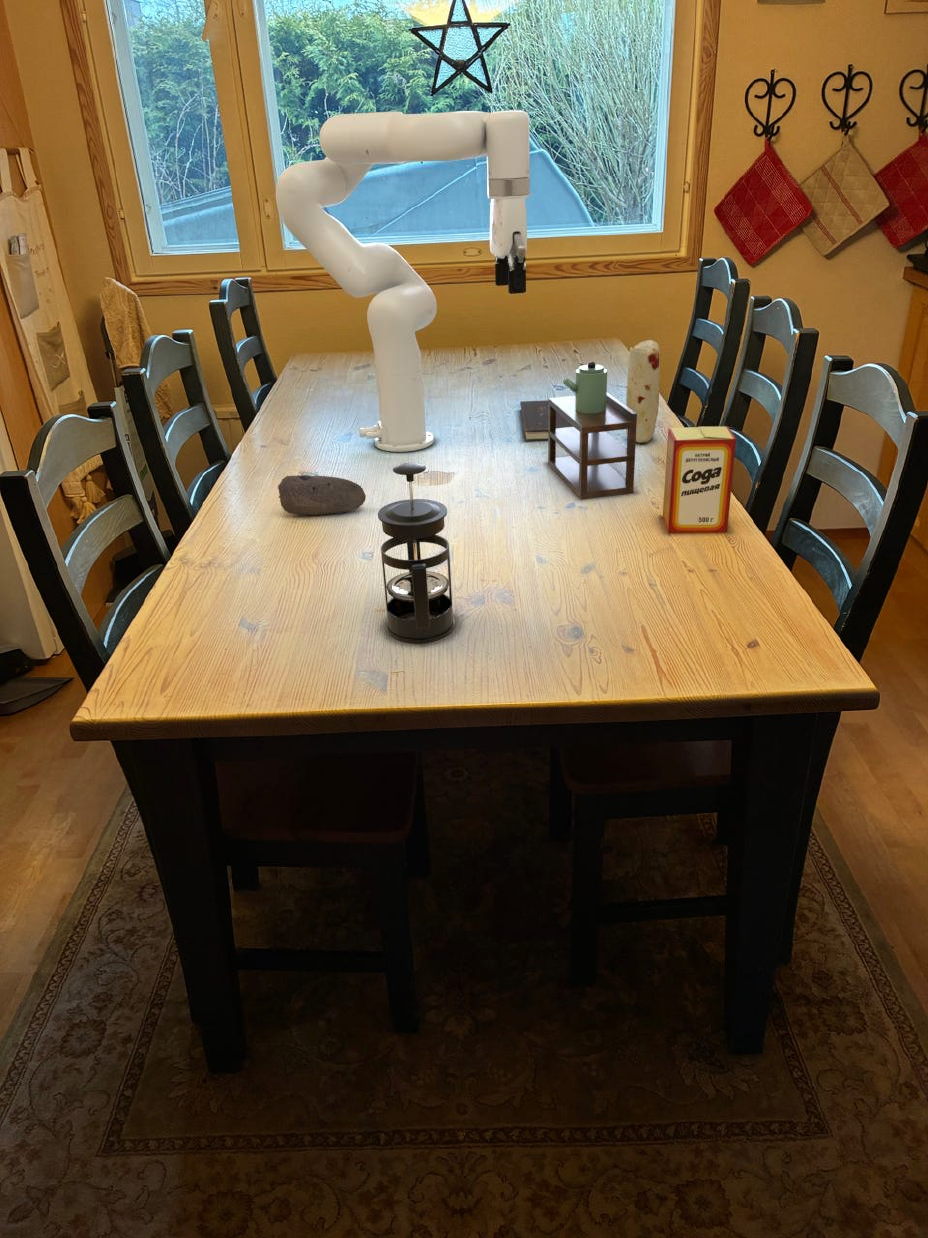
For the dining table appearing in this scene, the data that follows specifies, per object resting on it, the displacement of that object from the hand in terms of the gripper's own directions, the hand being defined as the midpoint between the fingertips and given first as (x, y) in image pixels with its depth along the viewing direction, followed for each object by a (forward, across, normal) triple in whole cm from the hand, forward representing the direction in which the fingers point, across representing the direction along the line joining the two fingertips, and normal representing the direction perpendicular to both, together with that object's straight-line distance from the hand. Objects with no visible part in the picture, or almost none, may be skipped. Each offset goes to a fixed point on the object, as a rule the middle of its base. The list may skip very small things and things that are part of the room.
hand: (510, 288), depth 176 cm
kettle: (+19, +18, +9) cm, 28 cm away
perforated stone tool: (+32, +20, -40) cm, 55 cm away
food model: (+32, -1, +28) cm, 43 cm away
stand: (+32, +18, +10) cm, 38 cm away
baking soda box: (+32, +45, +19) cm, 59 cm away
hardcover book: (+32, -17, +15) cm, 40 cm away
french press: (+32, +67, -31) cm, 81 cm away
